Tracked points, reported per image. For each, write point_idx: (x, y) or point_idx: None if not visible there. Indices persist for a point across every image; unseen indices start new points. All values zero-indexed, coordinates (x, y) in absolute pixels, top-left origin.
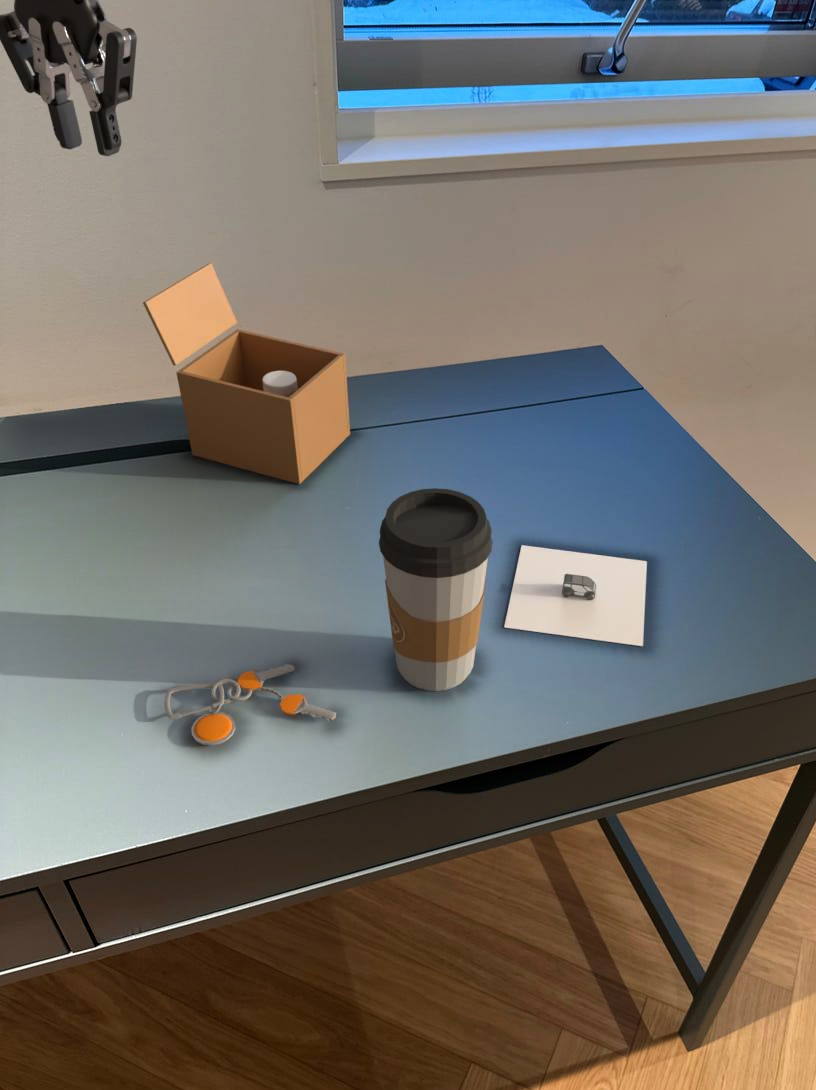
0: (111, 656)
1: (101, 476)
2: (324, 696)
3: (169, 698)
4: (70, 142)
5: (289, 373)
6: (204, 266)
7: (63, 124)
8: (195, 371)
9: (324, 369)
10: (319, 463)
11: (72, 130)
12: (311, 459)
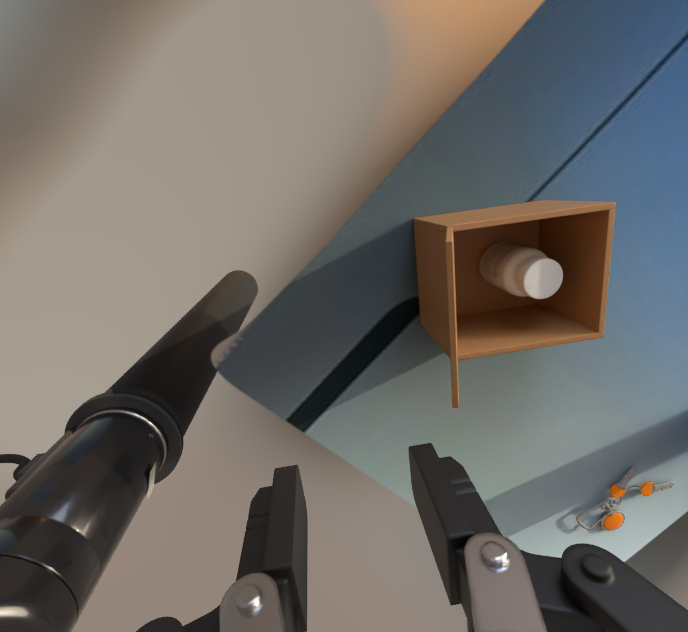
0: (523, 513)
1: (372, 392)
2: (657, 470)
3: (580, 521)
4: (303, 508)
5: (548, 262)
6: (450, 259)
7: (304, 561)
8: None
9: (608, 255)
10: None
11: (300, 516)
12: None
